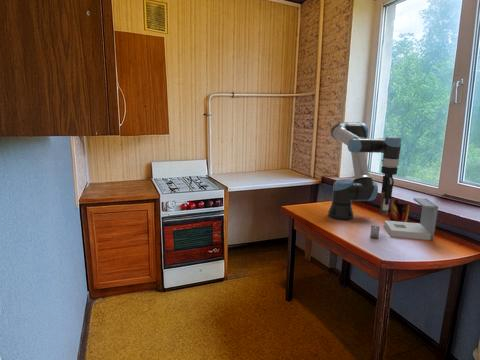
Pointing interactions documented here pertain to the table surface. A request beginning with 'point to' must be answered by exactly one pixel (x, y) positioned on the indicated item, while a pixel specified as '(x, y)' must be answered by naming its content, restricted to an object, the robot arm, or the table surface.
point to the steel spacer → (374, 232)
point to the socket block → (416, 229)
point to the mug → (399, 211)
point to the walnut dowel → (382, 212)
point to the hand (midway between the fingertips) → (384, 208)
